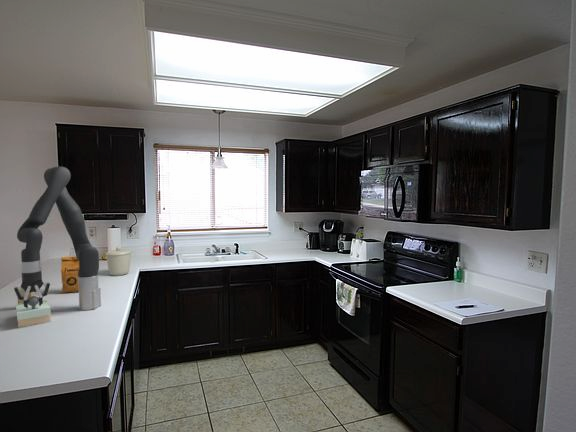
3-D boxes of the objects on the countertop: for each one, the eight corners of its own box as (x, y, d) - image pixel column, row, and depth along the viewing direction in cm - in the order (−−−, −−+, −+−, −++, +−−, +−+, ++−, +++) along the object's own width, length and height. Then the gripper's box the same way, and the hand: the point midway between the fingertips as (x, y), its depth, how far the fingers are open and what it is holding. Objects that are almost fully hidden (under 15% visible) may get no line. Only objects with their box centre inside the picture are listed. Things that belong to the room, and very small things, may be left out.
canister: (134, 275, 259) (133, 247, 258) (107, 278, 249) (106, 249, 247) (130, 270, 274) (129, 244, 273) (104, 273, 264) (103, 246, 262)
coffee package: (83, 292, 213) (81, 257, 211) (59, 294, 209) (58, 258, 207) (87, 288, 222) (85, 254, 221) (64, 290, 218) (63, 255, 217)
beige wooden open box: (17, 317, 170) (16, 307, 170) (46, 311, 178) (46, 302, 178) (18, 327, 156) (17, 316, 156) (50, 321, 164) (49, 311, 164)
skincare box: (17, 309, 181) (16, 286, 181) (20, 307, 185) (18, 284, 185) (32, 308, 184) (31, 285, 183) (34, 305, 188) (33, 283, 187)
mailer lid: (16, 311, 170) (15, 293, 170) (47, 306, 178) (46, 288, 178) (17, 320, 155) (16, 300, 155) (50, 314, 163) (49, 295, 163)
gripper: (49, 267, 169) (50, 301, 170) (11, 271, 160) (13, 307, 161) (50, 269, 163) (52, 305, 164) (12, 274, 154) (14, 312, 155)
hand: (33, 306), depth 162 cm, fingers closed on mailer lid, 4 cm apart
